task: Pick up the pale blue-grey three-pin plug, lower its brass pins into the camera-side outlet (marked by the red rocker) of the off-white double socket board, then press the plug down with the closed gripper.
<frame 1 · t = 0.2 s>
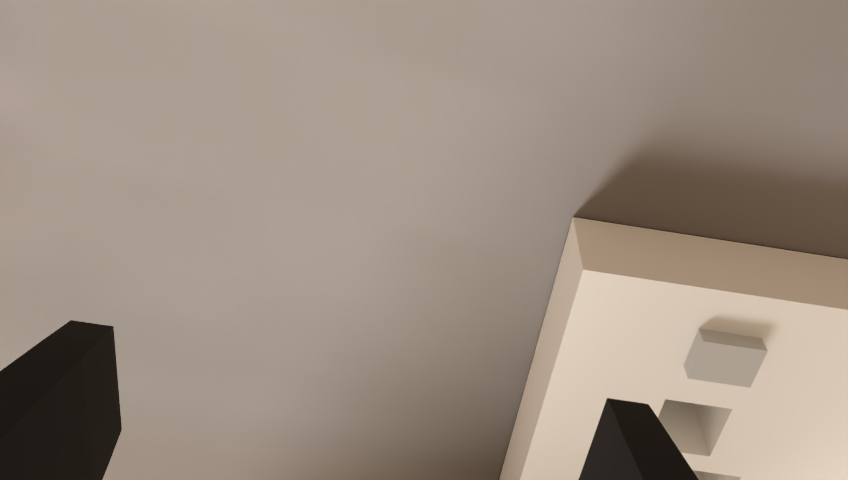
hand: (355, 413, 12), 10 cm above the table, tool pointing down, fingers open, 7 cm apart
socket board: (766, 420, 25), on the table
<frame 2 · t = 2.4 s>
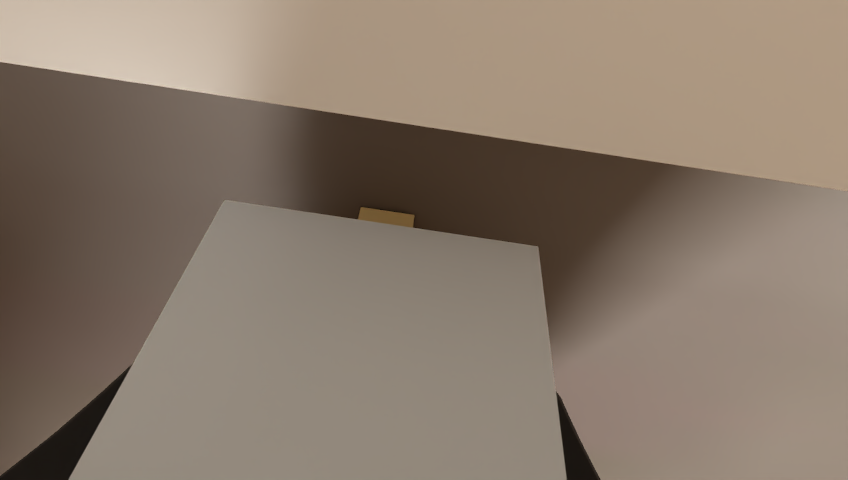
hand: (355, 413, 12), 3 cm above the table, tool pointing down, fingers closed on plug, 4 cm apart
plug: (376, 297, 14), on the table, touching gripper
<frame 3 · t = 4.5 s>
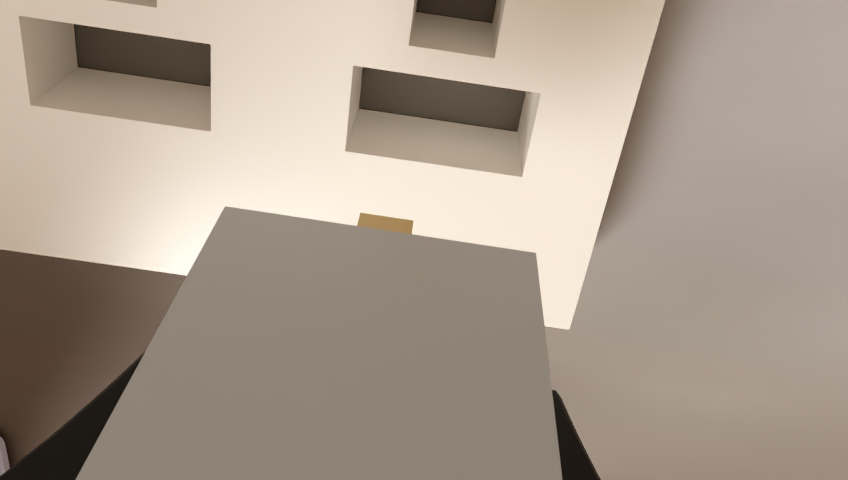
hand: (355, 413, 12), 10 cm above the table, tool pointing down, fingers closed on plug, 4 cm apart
socket board: (303, 20, 19), on the table
plug: (375, 302, 14), point 7 cm above the table, touching gripper
when the fingers open (4 cm above the table, at t = 6.4 s): plug stays where it is, resting on socket board.
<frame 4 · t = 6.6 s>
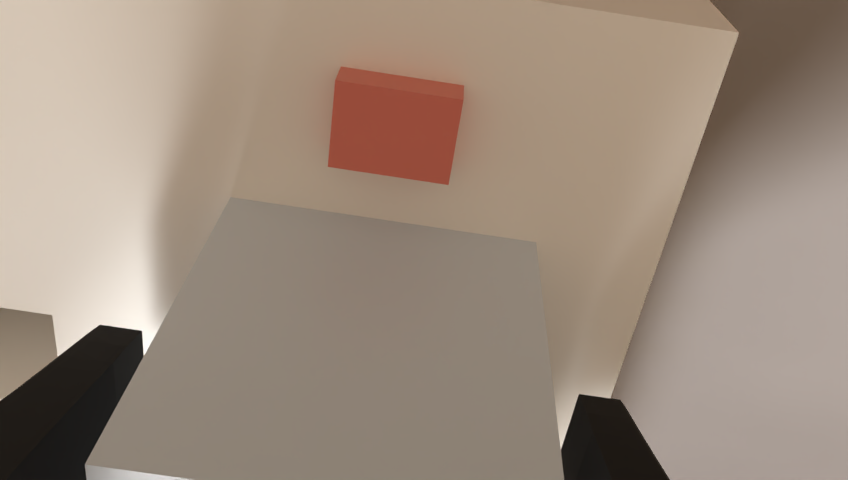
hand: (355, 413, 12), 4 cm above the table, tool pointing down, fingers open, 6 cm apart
socket board: (193, 245, 15), on the table
plug: (378, 293, 15), resting on socket board
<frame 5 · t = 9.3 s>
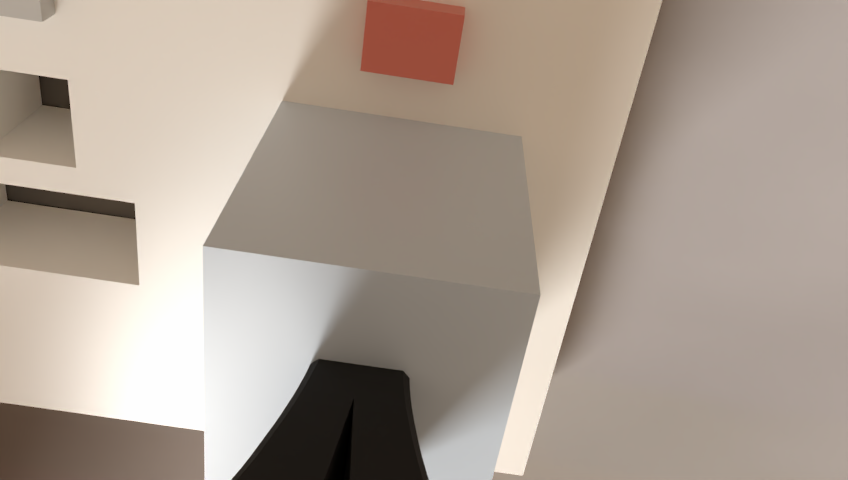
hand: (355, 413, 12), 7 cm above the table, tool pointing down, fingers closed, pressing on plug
socket board: (241, 159, 18), on the table
plug: (394, 197, 18), resting on socket board, touching gripper
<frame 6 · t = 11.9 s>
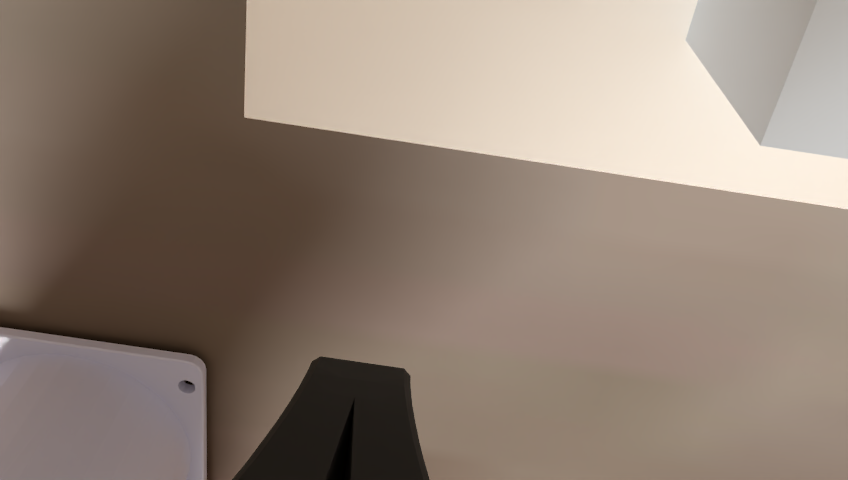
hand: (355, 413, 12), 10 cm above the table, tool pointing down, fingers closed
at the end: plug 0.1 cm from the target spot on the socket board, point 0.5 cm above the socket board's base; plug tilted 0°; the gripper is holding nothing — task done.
